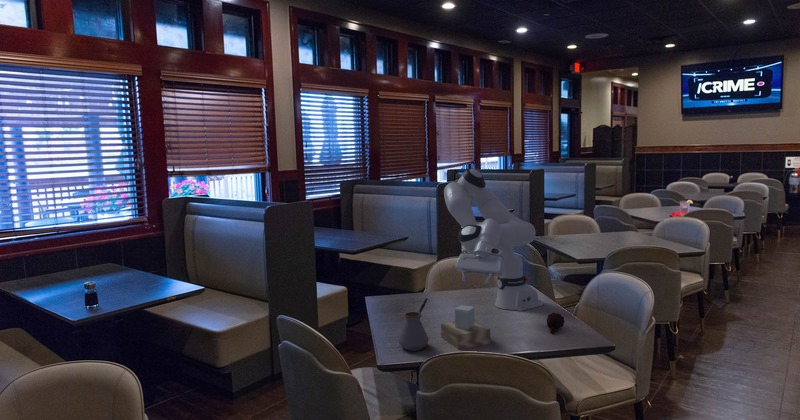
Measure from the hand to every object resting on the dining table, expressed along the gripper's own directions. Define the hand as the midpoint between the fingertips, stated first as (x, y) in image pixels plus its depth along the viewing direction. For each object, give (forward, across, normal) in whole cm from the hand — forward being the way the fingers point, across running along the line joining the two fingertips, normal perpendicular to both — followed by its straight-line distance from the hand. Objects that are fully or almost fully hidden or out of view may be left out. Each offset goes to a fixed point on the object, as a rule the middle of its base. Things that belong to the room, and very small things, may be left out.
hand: (474, 282), depth 217 cm
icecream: (+2, +27, +28) cm, 39 cm away
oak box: (+22, 0, +9) cm, 23 cm away
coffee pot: (+29, -15, +1) cm, 33 cm away
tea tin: (+18, 0, +4) cm, 18 cm away
